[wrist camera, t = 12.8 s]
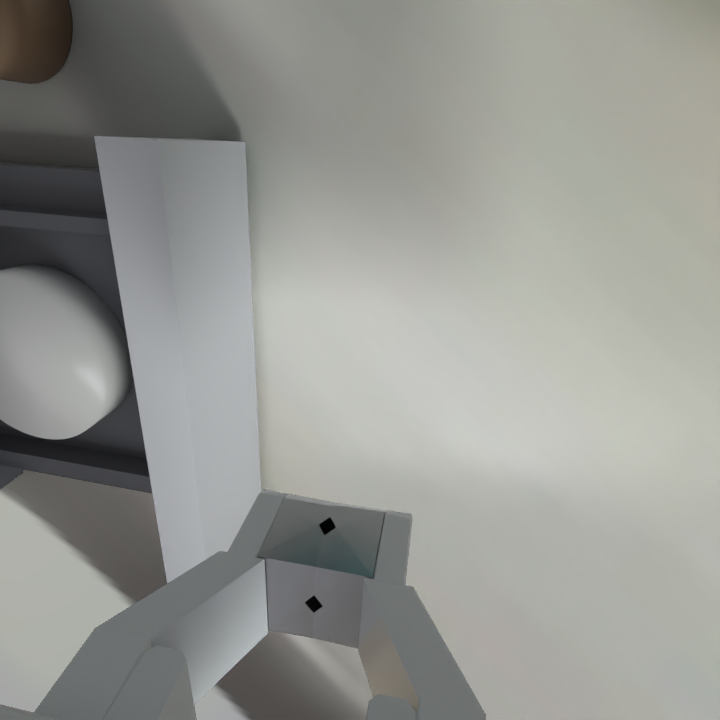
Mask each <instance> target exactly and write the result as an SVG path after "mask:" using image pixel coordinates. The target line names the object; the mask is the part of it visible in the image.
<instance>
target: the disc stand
mask: <svg viewBox="0 0 720 720" xmlns="http://www.w3.org/2000/svg"><path fill="white" fill-rule="evenodd" d="M71 39H72V18H71V10H70V6H69V1H68V0H0V79H1V80H7V81H14V82H21V83H29V84H33V83H40V82H44V81H46V80H48V79H50V78H51V77H53V76H54V75H55V74H56V73H57V72H58V71H59V70H60V69H61V67H62V66H63V64H64V63H65V60H66V58H67V56H68V53H69V50H70V45H71Z"/></svg>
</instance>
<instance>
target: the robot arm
mask: <svg viewBox="0 0 720 720" xmlns="http://www.w3.org/2000/svg"><path fill="white" fill-rule="evenodd" d="M411 527H412V515H411V514H409V513H402V512H395V511H389V510H381V509H374V508H368V507H362V506H355V505H349V504H342V503H335V502H330V501H324V500H319V499H314V498H309V497H304V496H298V495H293V494H284V493H279V492H274V491H269V490H263V491H262V492H261V493H259V494H258V496H257V498H256V500H255V502H254V503H253V505H252V507H251V509H250V511H249V513H248V515H247V516H246V518H245V520H244V522H243V524H242V526H241V527H240V529H239V531H238V533H237V535H236V537H235V539H234V540H233V542H232V544H231V546H230V548H229V550H228V552H224V551H219V552H217V553H215V554H214V555H212V556H211V557H209V558H207V559H206V560H204V561H203V562H201V563H199V564H198V565H196V566H194V567H193V568H191V569H190V570H188V571H186V572H185V573H183V574H182V575H180V576H178V577H177V578H175V579H174V580H172V581H170V582H169V583H167V584H166V585H164V586H162V587H161V588H159V589H158V590H156V591H154V592H153V593H151V594H150V595H148V596H146V597H145V598H143V599H141V600H140V601H138V602H137V603H135V604H133V605H132V606H130V607H129V608H127V609H126V610H124V611H122V612H121V613H119V614H117V615H116V616H114V617H113V618H111V619H109V620H108V621H106V622H105V623H103V624H102V625H100V626H98V627H97V628H95V629H94V630H93V632H92V633H91V635H90V636H89V637H88V639H87V640H86V642H85V643H84V644H83V646H82V647H81V648H80V650H79V651H78V653H77V654H76V655H75V657H74V658H73V659H72V661H71V663H70V664H69V665H68V666H67V668H66V669H65V670H64V672H63V673H62V675H61V676H60V677H59V679H58V680H57V681H56V683H55V684H54V686H53V687H52V688H51V690H50V691H49V693H48V694H47V695H46V697H45V698H44V699H43V701H42V702H41V703H40V705H39V706H38V708H37V709H36V710H35V712H34V713H33V712H29V711H25V710H21V709H17V708H13V707H9V706H5V705H0V720H196V714H195V708H194V705H195V704H196V702H198V701H199V699H201V698H202V697H203V696H204V695H205V694H206V693H207V692H208V691H209V690H210V689H211V688H212V687H213V686H214V685H215V684H216V683H217V682H218V681H219V680H220V679H221V678H222V677H223V676H224V675H225V674H226V673H227V672H228V671H230V670H231V669H232V668H233V667H234V666H235V665H236V664H237V663H238V662H239V661H240V660H241V659H242V658H243V657H244V656H245V655H246V654H247V653H248V652H249V651H250V650H251V649H252V648H253V647H254V646H255V645H256V644H257V643H258V642H259V641H260V640H261V639H262V638H263V637H264V636H266V635H267V634H268V630H271V631H277V632H283V633H288V634H294V635H300V636H305V637H311V638H316V639H320V640H324V641H328V642H333V643H337V644H341V645H345V646H350V647H354V648H358V652H359V655H360V658H361V661H362V664H363V667H364V670H365V673H366V676H367V679H368V682H369V685H370V688H371V691H372V694H373V697H374V698H373V699H371V700H370V701H369V706H368V712H367V718H366V720H486V714H485V713H484V711H483V709H482V707H481V706H480V704H479V702H478V700H477V698H476V697H475V695H474V693H473V691H472V690H471V688H470V686H469V684H468V683H467V681H466V679H465V677H464V675H463V674H462V672H461V670H460V668H459V667H458V665H457V663H456V661H455V660H454V658H453V656H452V654H451V652H450V651H449V649H448V647H447V645H446V644H445V642H444V640H443V638H442V637H441V635H440V633H439V631H438V629H437V628H436V626H435V624H434V622H433V621H432V619H431V617H430V615H429V614H428V612H427V610H426V608H425V606H424V605H423V603H422V601H421V599H420V598H419V596H418V594H417V592H416V591H415V589H414V587H412V586H407V585H405V583H406V574H407V564H408V555H409V546H410V536H411Z"/></svg>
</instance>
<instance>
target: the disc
mask: <svg viewBox="0 0 720 720" xmlns="http://www.w3.org/2000/svg"><path fill="white" fill-rule="evenodd" d="M132 374H133V371H132V365H131V359H130V353H129V347H128V341H127V339H126V336H125V333H124V331H123V329H122V327H121V326H120V324H119V322H118V320H117V319H116V317H115V316H114V314H113V312H112V311H111V310H110V309H109V307H108V306H107V305H106V304H105V302H104V301H103V300H102V299H101V298H100V297H99V296H98V295H97V294H96V293H95V292H94V291H93V290H91V289H90V288H89V287H88V286H87V285H85V284H84V283H82V282H81V281H80V280H78V279H77V278H75V277H73V276H71V275H69V274H68V273H66V272H63V271H61V270H58V269H56V268H52V267H49V266H45V265H38V264H25V265H19V266H15V267H11V268H7V269H3V270H0V420H2V421H3V422H5V423H6V424H8V425H10V426H11V427H13V428H15V429H17V430H19V431H21V432H24V433H26V434H29V435H32V436H35V437H39V438H44V439H54V440H57V439H67V438H72V437H74V436H77V435H79V434H81V433H83V432H84V431H86V430H87V429H89V428H90V427H91V426H93V425H94V424H96V423H97V422H98V421H100V420H101V419H102V418H104V417H105V416H106V415H108V414H109V413H110V412H112V411H113V410H115V409H116V408H117V407H118V406H119V405H120V404H121V403H122V401H123V400H124V399H125V397H126V395H127V393H128V391H129V388H130V385H131V381H132Z"/></svg>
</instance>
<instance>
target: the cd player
mask: <svg viewBox="0 0 720 720" xmlns="http://www.w3.org/2000/svg"><path fill="white" fill-rule="evenodd" d="M22 473H23V471H22V469H19V468H14V467H9V466H3V465H0V489H1V488H3V487H4V486H6V485H7V484H8V483H10V482H11V481H12V480H14V479H15V478H16V477H18V476H19V475H21V474H22Z"/></svg>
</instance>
